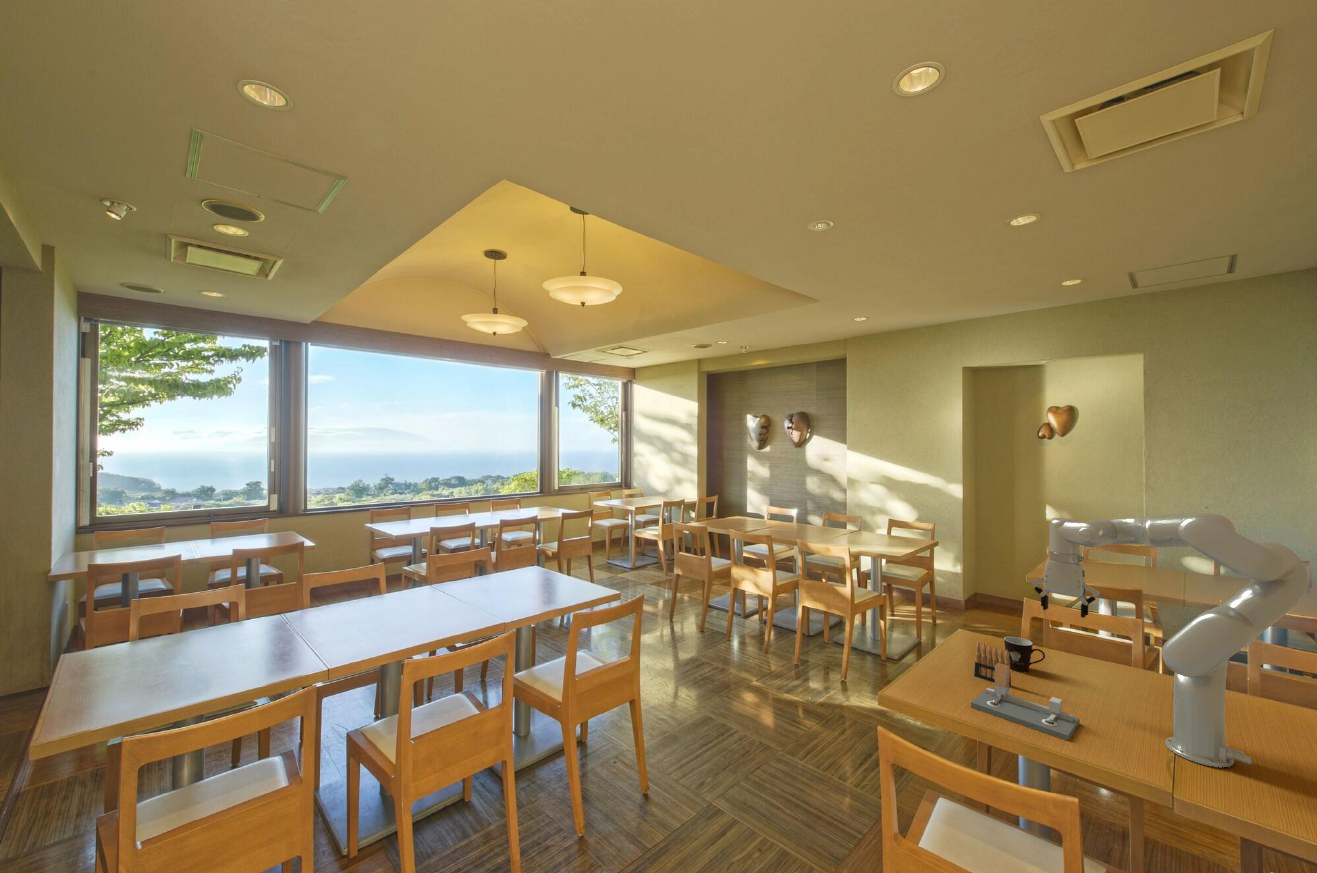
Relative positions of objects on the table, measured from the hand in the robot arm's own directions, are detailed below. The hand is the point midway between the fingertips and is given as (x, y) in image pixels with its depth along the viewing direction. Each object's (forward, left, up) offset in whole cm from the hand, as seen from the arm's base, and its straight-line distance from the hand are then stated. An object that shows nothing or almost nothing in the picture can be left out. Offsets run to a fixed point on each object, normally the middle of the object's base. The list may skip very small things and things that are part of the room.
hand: (1064, 612), depth 167 cm
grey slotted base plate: (+6, +18, -28) cm, 34 cm away
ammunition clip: (+20, -1, -29) cm, 35 cm away
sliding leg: (+13, +17, -27) cm, 34 cm away
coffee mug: (+16, -19, -28) cm, 38 cm away
